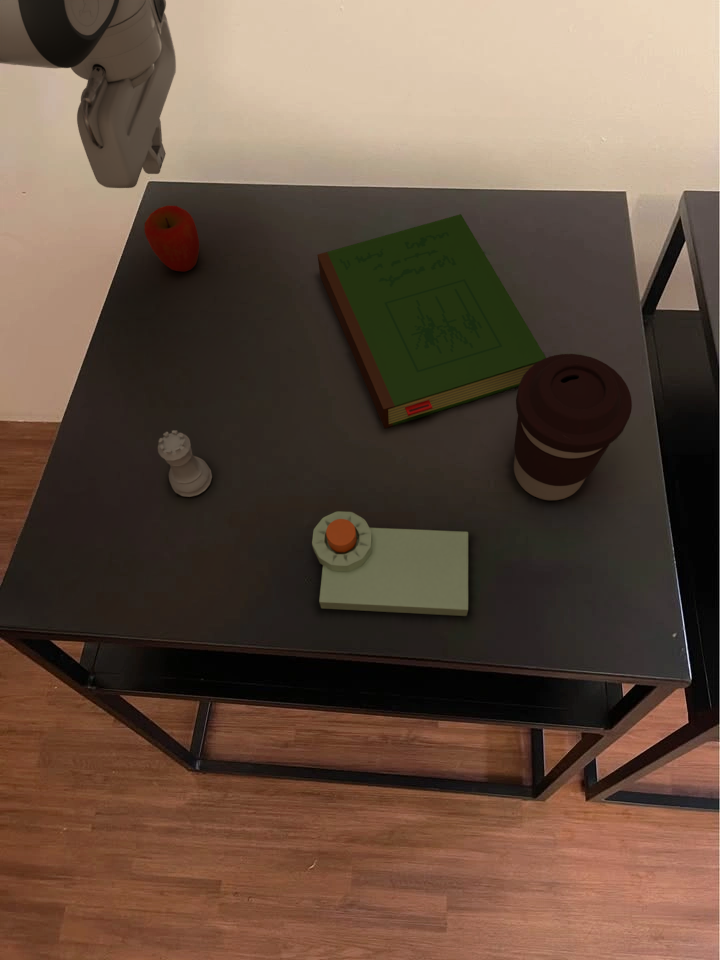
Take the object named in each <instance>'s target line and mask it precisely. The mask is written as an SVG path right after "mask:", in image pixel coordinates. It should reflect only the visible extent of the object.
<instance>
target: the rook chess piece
mask: <svg viewBox="0 0 720 960" xmlns="http://www.w3.org/2000/svg"><path fill="white" fill-rule="evenodd" d="M162 435H163V437H160V438H159V439H158V445H157V452H158V455H159V456H160V457H161V458H162V459H164V460H165V462H166V463H167V464H168V465H169V466H170V469H169V472H168V480H169V484H170V486H171V488H172V490H173V491H174V492H175V494H178V495H179V496H181V497H187V498H188V497H189V498H190V497H195V496H198V495H200V494H202V493H203V492H205V491H206V490H207V489H208V488H209V486H210V485H211V482H212V478H213V474H212V470H211V468H210V467H209V465H208V464H207V462H206V461H205V460H204V459H202V458H200V457H198V456H195V455H194V454H193V450H192V447H191V439H190V438H189V437H188V435H187V434H185V433H183V432H178V430H176V429H175V430H174V429H173V430H171V433H169V432H168V431H165V432H164V433H163V434H162Z"/></svg>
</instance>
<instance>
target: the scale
mask: <svg viewBox="0 0 720 960" xmlns="http://www.w3.org/2000/svg"><path fill="white" fill-rule="evenodd" d="M337 519H346V520H348V521H350V522H351V523H352V524H353V525H354V527H355V530H356V537H357V541H356V544H355V546H354V547H353V548H352V549H351V550H350V551H348V552H344V553H339V552H336V551H334V550H332V549H331V548H330V546H329V544H328V540H327V536H326V530H327V527H328V526H329V524H330V523H331V522H333V521H334V520H337ZM311 546H312V549H313V552H314V554H315V556H316V559H317V560H318V562H319V564H320V565H322V570H321V579H320V589H319V598H318V602H319V603H318V604H319V606H320V609H326V610H344V611H345V610H346V611H365V612H386V613H399V614H400V613H402V614H422V615H438V616H439V615H440V616H458V617H459V616H460V617H467V616H468V612H469V532H468V531H460V530H459V531H456V530H437V529H436V530H435V529H434V530H433V529H413V528H411V529H410V528H387V527H370V526H369V524H368V522H367V521H366V519H364V518H363V517H361V516H360V515H358V514H356V513H355V512H353V511H337V510H336V511H334V512H332V513H329V514H328V515H326V516H323V517H322V518H321V519H320V521H318V523H317V525H316V526H315V527H314V528H313V531H312V539H311Z"/></svg>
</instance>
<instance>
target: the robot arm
mask: <svg viewBox="0 0 720 960" xmlns="http://www.w3.org/2000/svg"><path fill="white" fill-rule="evenodd" d="M166 9H167V1H166V0H0V64H3V65H11V66H24V67H32V68H33V67H34V68H45V69H71V70H72V72H73V73H74V74H75V75H77V76H78V77H80V78H81V79H84V80H86V81H87V82H86V86H85V87H84V89H83V90H82V92H81V95H80V103H79V105H78V108H77V112H76V123H77V130H78V133H79V137H80V140H81V143H82V146H83V149H84V151H85V154H86V157H87V160H88V163H89V165H90V168H91V170H92V171H91V172H92V173H93V175H94V178H95V180H96V181H97V183H98V184H99V185H101V186H102V187H104V188H109V189H131V188H132V189H133V188H135V187H136V186H137V185H138V181H139V180H140V176H141V173H142V170H143V171H144V173H145V174H148V175H158V174H160V173H161V169H162V168H163V167H162V166H163V163H164V161H165V158H166V155H167V154H166V150H165V147H164V144H163V134H162V122H161V116H162V112H163V110H164V106H165V104H166V101H167V98H168V95H169V93H170V90H171V86H172V84H173V81H174V78H175V76H176V72H177V58H176V50H175V46H174V41H173V37H172V33H171V29H170V26H169V22H168V18H167V15H166Z"/></svg>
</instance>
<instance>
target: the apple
mask: <svg viewBox="0 0 720 960" xmlns="http://www.w3.org/2000/svg"><path fill="white" fill-rule="evenodd" d="M143 228H144V229H143V231H144V235H145V237H146V240H147V243H148V244H149V246H150V248H151V250H152V252H153V253H154V254H155V256H157V258H158V259H159V260H160V262H161V263H163V265H165V266H166V267H167V268H169V269H170V270H172V271H176V272H183V273H184V272H185V273H186V272H188V271H191V270H192V269H193V268H194V267H195V266H196V265H197V262H198V258H199V255H200V254H199V253H200V238H199V233H198V229H197V225H196V223H195V220H194V217H193V216H192V215H191V213H190V212H188V210H186V209H184V208H182V207H180V206H178V205H164V206H161V207H158V208H157V209H155V210H154V211H153V212H151V213H150V214H149V216H148V217H147V219H146V220H145V222H144V227H143Z"/></svg>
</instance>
